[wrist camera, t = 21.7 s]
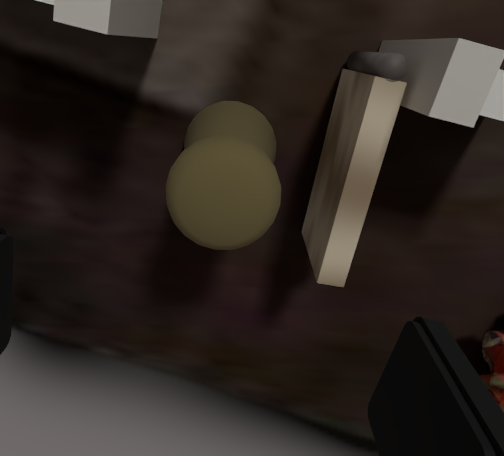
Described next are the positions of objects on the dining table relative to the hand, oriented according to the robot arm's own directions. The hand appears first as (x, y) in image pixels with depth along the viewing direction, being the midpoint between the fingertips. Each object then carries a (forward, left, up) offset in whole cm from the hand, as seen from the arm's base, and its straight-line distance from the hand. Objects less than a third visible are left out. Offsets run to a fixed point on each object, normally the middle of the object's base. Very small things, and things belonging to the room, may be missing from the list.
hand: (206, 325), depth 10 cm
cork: (0, 0, -20) cm, 20 cm away
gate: (-7, -1, -19) cm, 20 cm away
